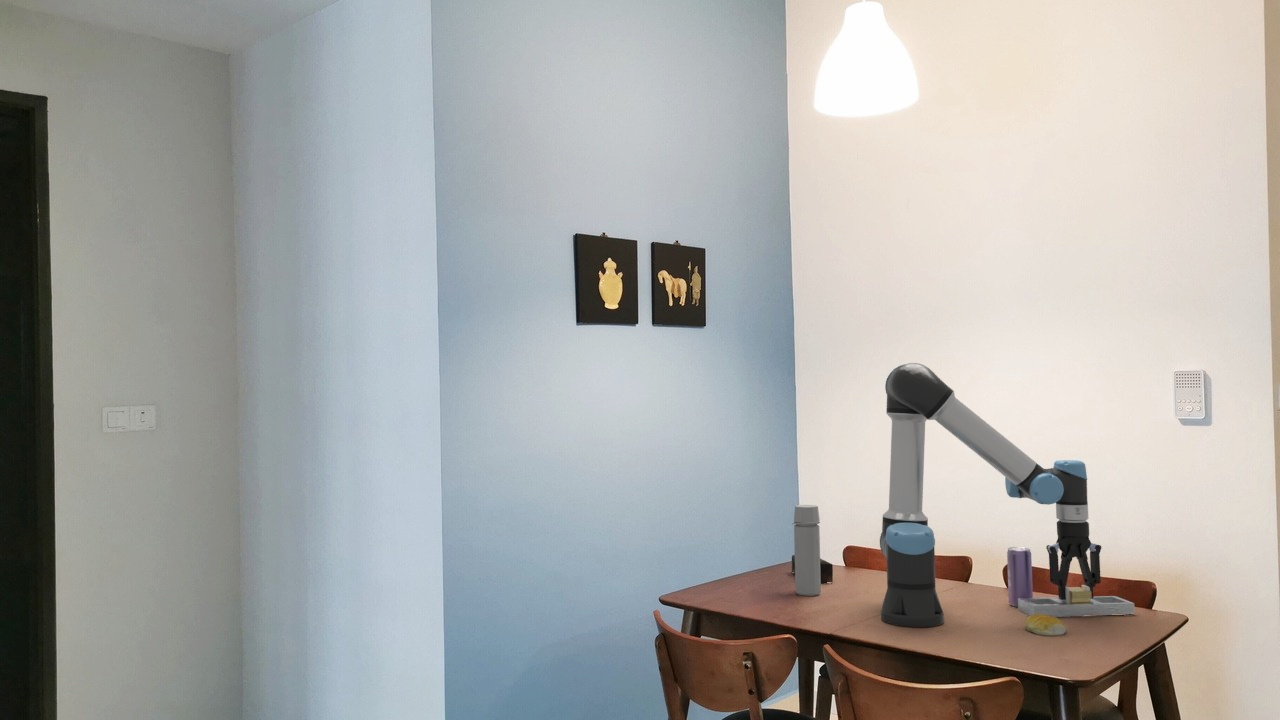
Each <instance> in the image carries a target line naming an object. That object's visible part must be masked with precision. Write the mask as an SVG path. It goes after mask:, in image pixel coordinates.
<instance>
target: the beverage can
mask: <svg viewBox="0 0 1280 720" xmlns="http://www.w3.org/2000/svg"><path fill="white" fill-rule="evenodd" d="M1006 555H1007V556H1006V559H1007V561H1006V563H1007V589H1008V590H1007V591H1008V594H1007V595H1008V603H1009V605H1010V606H1011V605H1012V607H1014V606H1015V607H1016V608H1018V598H1034V597H1033V595H1034V594H1033V593H1034V591H1033V566H1032V552H1031V549H1030V548H1029V547H1022V546H1013V547H1011V546H1010V547H1007V552H1006ZM1015 607H1014V608H1015Z"/></svg>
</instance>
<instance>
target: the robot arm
mask: <svg viewBox="0 0 1280 720" xmlns="http://www.w3.org/2000/svg"><path fill="white" fill-rule="evenodd" d="M884 389H885V393H886V412H885V413H886V415H887V416H888V417H889V418H890V419H891V436H890V437H891V439H890V468H889V469H890V470H889V493H888V495H889V496H888V509H887V511H885V512H884V513H883V514H882V524H881V533H880V537H879V547H880V551H881V553H882V555H883V557H884V558H885V560H886V583H887V586H886V587H887V588H886V591H885V595H884V598H883V600H882V605H881V609H880V619H881V621H882V622H885V623H887V624H891V625H894V626H901V627H908V628H909V627H910V628H911V627H912V628H913V627H914V628H927V627H928V628H929V627H936V626H940V625H942V624H944V622H945V616H944V615H945V614H944V609H943V607H942V604H941V602H940V599H939V596H938V593H937V588H936V587H937V586H936V560H935V559H936V558H935V557H936V556H935V555H936V553H935V545H936V539H935V535H934V534H935V533H934V531H933V529H932V528H931V527H929V526H928V525H929V523H928V521H929V519H928V517H927V516H926V515H925V514H924V511H923V500H924V499H923V498H924V496H923V495H924V474H925V473H924V471H925V470H924V465H925V441H926V439H925V438H926V437H925V436H926V422H927V421H932V420H933V421H935V422H937V423H938V424H939V425H940V426H941V427H943V428H944V429H946V430H947V431H948V432H949V433H951V434H952V435H953V436H954V437H955V438H956V439H957V440H959V441H960V442H961V443H962V444H964V445H965V446H967V448H969V449H970V450H972V451H973V452H974V453H975V454H977V455H978V456H979V457H980V458H982V459H983V460H984V461H985V462H986V463H988V464H989V465H990V466H991V467H993V468H994V469H995V470H996V471H997V472H999V473H1000V474H1001V475H1002V476H1003V477H1005V481H1004V482H1005V483H1004V485H1005V491H1006V494H1007V496H1008V497H1009V498H1013V499H1015V498H1017V499H1029V500H1032V501H1034V502H1035V503H1037V504H1039V505H1047V506H1048V505H1054V504H1055V513H1056V514H1055V515H1056V516H1055V517H1056V520H1057V521H1056V534H1057V540H1056V542H1055V543H1054V544H1051V545H1049V544H1048V545H1046V550H1047V553H1048V561H1049V562H1048V563H1049V582H1050V583H1051V584H1053V585H1055V586H1057V592H1058V593H1057V594H1058V597H1059V599H1062V601H1064V602H1066V603H1069V604H1070V590H1069V587H1070V586H1067V585H1068V584H1067V583H1068V579H1069V578H1068V577H1069V572H1070V567H1071V564H1072V563H1071V562H1072V561H1073V558H1076V559H1077V560H1078V565H1079V569H1080V572H1081V575H1082V578H1083V582H1084V584H1081V588H1083V589H1085V590H1088V591H1091V595H1092V598H1089V601H1090V603H1091V599H1093V597H1094V588H1095V587H1096V585H1099V584H1101V559H1100V557H1101V555H1100V553H1101V550H1102V545H1100V544H1097V543H1093V542H1091V539H1090V523H1089V522H1088V520H1089V503H1088V476H1087V467H1086V464H1085V463H1084V461H1081V460H1073V459H1072V460H1071V459H1066V460H1065V459H1064V460H1063V459H1062V460H1055V461H1054V462H1053V467H1051V468H1043V467H1042V466H1041V465H1039V464H1038V463H1037V461H1035V460H1034V459H1032V458H1031V457H1030V456H1029V455H1028V454H1026V453H1025V452H1023V450H1022V449H1020V447H1018V446H1016V445H1015V444H1014V443H1012V441H1010V440H1009V439H1008V438H1006V437H1005V436H1004V435H1003V434H1001V433H1000V432H999V431H998V430H996V428H994V427H993V426H992V425H991V424H989V423H987V422H986V420H984V419H983V418H981V417H980V416H979V415H978V414H976V413H975V412H974V411H973V410H972V409H970V408H969V407H968V406H966V404H964V403H963V402H961V401H960V400H959V399H958V398H957V397H956V395H955V390H954V389H953V388H951V387H950V386H948V385H947V384H946V383H945V382H944V381H943V380H942V379H941V378H940V377H939V376H938V374H935V372H934V371H933V370H932V369H931V368H929V367H928V366H926V365H924V364H921V363H918V362H909V363H904V364H901V365H898V366H897V367H895V368H894V369H893V370H892V371H890V373H889V374H888V375H887V378H886V381H885V388H884ZM1059 550H1060V551H1061V555H1060V559H1061V560H1060V564H1059V555H1058V553H1059ZM1088 550H1089V557H1088V554H1087V551H1088ZM1088 560H1089V562H1090V563H1089V562H1088ZM1089 564H1090V565H1089Z"/></svg>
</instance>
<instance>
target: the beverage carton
mask: <svg viewBox="0 0 1280 720" xmlns="http://www.w3.org/2000/svg"><path fill="white" fill-rule="evenodd" d="M791 555H792V556H791V573H792V572H794V573H795V554H791ZM833 567H834V566H833V563H830V562H829V561H827V560H824V559H823V558H820V576H821V583H827V582H832V583H833V582H834V581H833V577H834V576H833V575H834V574H833V572H834V571H833V570H834V569H833Z"/></svg>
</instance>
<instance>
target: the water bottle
mask: <svg viewBox="0 0 1280 720" xmlns="http://www.w3.org/2000/svg"><path fill="white" fill-rule="evenodd" d="M793 513H794V516H793V522H792V523H791V525H793V533H794V534H793V536H794V538H793V539H794V555H795V574H794V579H795V581H794V583H795V584H794V585H795V586H794V589H795V590H794V591H795V593H796V594H797V595H799V596H802V595H803V597H816V596H818V595H820V594H821V592H822V589H821V588H822V586H821V585H822V584H821V576H820V559H821V546H820V545H821V544H820V543H821V541H820V540H821V536H820V535H821V534H820V525H819V524H820V523H821V522H820V513H819V506H818V505H816V504H815V505H814V504H797V505H794V512H793ZM815 595H816V596H815Z"/></svg>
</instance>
